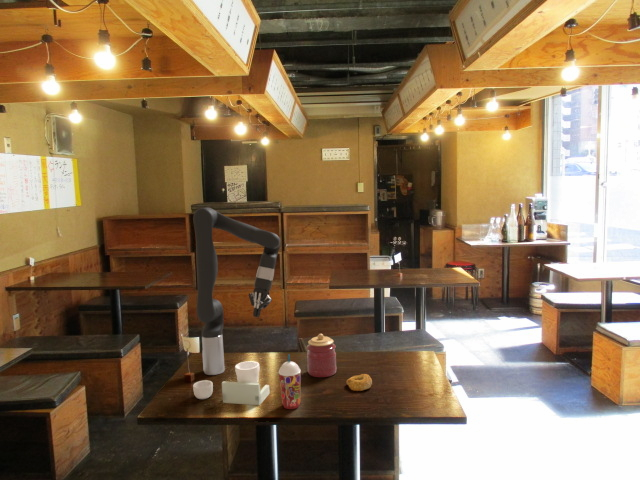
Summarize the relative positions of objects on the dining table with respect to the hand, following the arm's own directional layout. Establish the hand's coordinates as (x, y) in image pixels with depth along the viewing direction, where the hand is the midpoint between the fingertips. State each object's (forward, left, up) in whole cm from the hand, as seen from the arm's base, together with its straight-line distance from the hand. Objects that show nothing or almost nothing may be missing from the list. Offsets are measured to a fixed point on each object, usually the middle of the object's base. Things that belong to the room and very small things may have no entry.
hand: (256, 316), depth 213 cm
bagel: (+41, +19, -27) cm, 53 cm away
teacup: (-2, -27, -27) cm, 39 cm away
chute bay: (+14, -17, -27) cm, 35 cm away
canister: (+18, +21, -27) cm, 39 cm away
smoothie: (+33, -11, -27) cm, 45 cm away
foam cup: (+14, -16, -27) cm, 35 cm away
